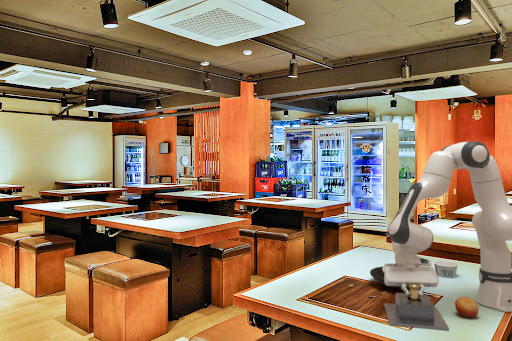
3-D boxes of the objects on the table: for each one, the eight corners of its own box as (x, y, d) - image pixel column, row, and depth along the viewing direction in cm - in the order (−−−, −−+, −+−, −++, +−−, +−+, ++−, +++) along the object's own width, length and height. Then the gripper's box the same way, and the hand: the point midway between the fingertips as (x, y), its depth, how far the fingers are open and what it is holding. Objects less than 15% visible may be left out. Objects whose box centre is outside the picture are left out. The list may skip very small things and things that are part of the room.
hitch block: (436, 309, 153) (436, 292, 153) (449, 330, 133) (449, 311, 133) (384, 305, 158) (384, 288, 157) (389, 325, 138) (389, 306, 138)
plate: (429, 297, 168) (429, 284, 168) (373, 293, 173) (373, 281, 172) (415, 278, 195) (415, 267, 195) (367, 275, 200) (367, 265, 200)
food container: (452, 272, 206) (452, 260, 206) (462, 279, 194) (462, 266, 194) (429, 272, 207) (429, 260, 207) (438, 278, 195) (438, 266, 195)
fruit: (467, 306, 153) (473, 293, 148) (477, 323, 146) (484, 309, 142) (447, 306, 152) (453, 293, 148) (457, 323, 146) (463, 310, 141)
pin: (418, 306, 147) (418, 283, 147) (420, 310, 143) (420, 286, 143) (408, 305, 148) (408, 282, 148) (409, 309, 144) (409, 285, 144)
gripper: (382, 259, 153) (388, 291, 144) (435, 260, 151) (444, 293, 141) (380, 267, 158) (385, 298, 148) (431, 268, 155) (439, 300, 146)
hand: (414, 296), depth 145 cm, fingers closed on pin, 3 cm apart
